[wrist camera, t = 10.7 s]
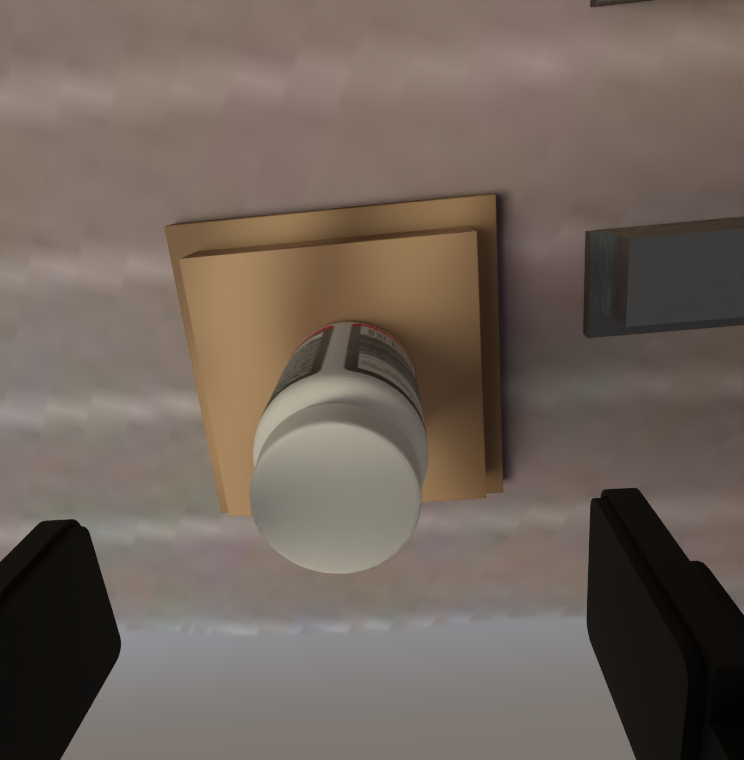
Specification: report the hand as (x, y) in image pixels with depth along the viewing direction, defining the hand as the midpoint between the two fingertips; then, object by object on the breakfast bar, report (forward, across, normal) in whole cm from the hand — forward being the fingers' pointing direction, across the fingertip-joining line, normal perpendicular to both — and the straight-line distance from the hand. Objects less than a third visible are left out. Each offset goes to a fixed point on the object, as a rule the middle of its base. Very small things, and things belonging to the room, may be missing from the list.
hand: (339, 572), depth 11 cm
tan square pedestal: (+14, +1, 0) cm, 14 cm away
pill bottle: (+11, +1, 0) cm, 11 cm away
